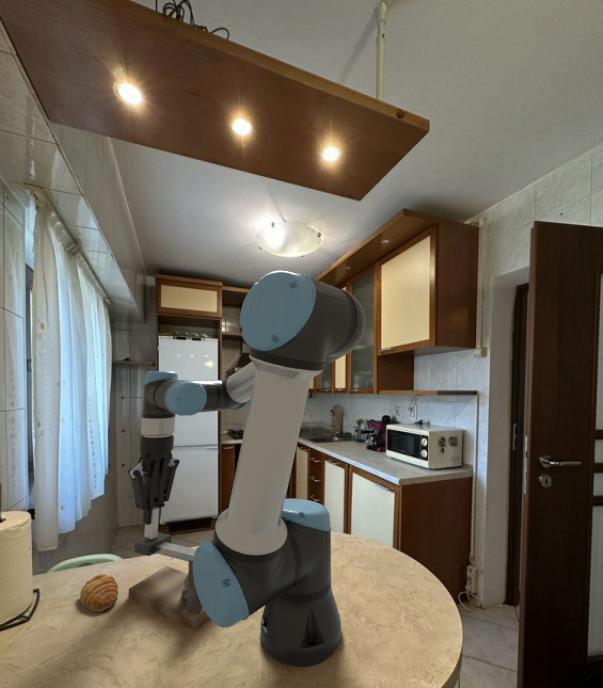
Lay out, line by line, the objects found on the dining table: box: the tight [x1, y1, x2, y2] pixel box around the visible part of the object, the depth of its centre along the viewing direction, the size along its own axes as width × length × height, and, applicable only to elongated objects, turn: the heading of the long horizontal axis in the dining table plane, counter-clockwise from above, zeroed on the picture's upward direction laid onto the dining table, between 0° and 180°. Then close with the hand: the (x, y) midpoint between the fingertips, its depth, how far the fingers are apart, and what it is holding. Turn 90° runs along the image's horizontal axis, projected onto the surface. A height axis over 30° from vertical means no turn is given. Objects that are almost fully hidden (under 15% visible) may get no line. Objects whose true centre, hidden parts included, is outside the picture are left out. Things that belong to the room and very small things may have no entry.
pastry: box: [79, 573, 119, 613], centre depth 71 cm, size 9×7×4 cm
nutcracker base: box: [127, 557, 210, 631], centre depth 72 cm, size 20×10×12 cm, turn 62°
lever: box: [134, 531, 197, 563], centre depth 73 cm, size 21×6×3 cm, turn 63°
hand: (150, 536), depth 77 cm, fingers closed
